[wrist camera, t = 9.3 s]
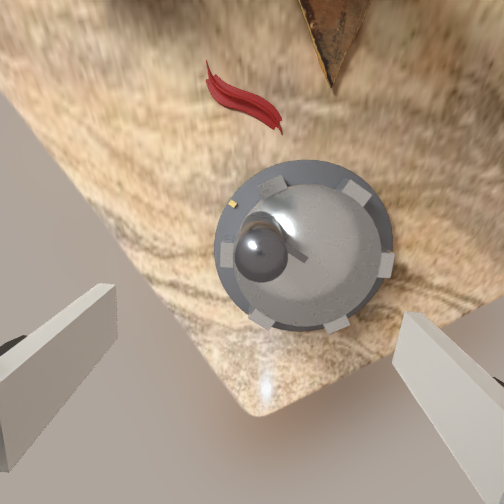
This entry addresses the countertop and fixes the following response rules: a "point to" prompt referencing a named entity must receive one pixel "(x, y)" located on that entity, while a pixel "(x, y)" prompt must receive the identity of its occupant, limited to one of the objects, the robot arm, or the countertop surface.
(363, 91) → the countertop surface
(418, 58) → the countertop surface
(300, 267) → the tabbed dome lid
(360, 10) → the shard
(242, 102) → the cayenne pepper
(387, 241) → the base plate
